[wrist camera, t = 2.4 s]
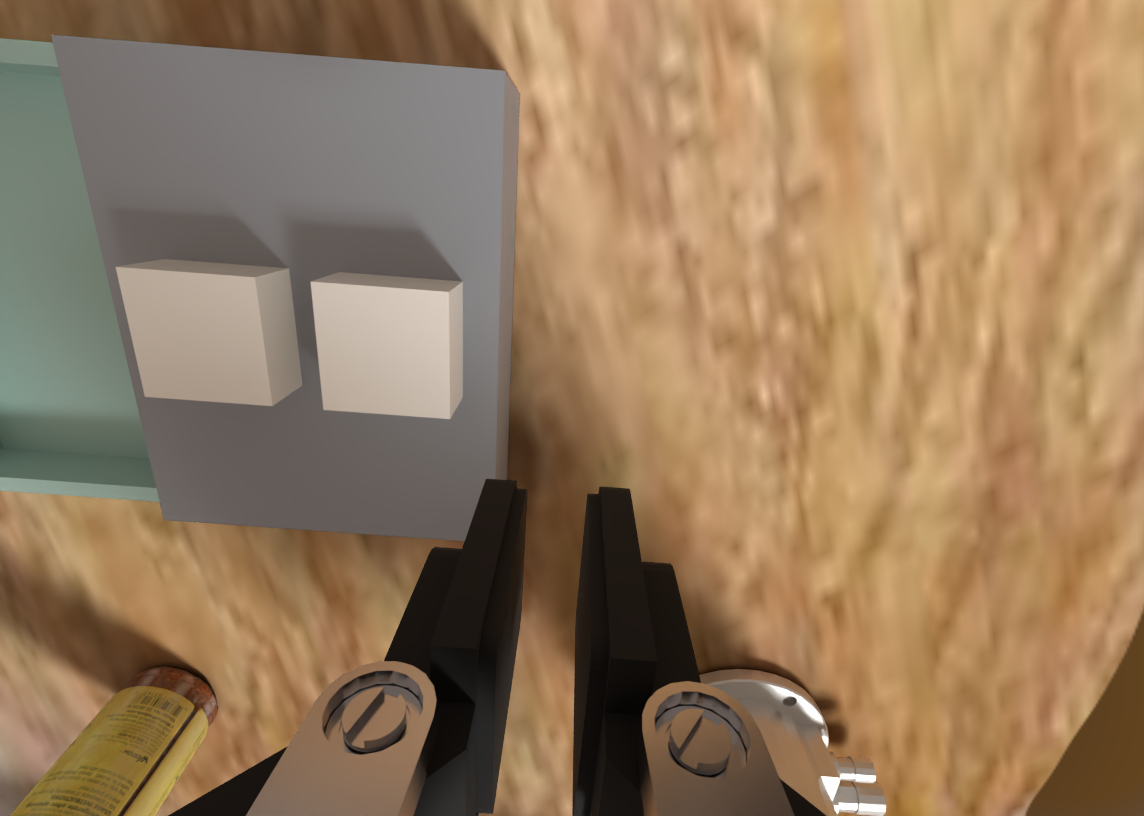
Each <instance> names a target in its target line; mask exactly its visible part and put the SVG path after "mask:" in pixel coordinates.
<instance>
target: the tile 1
mask: <svg viewBox="0 0 1144 816" xmlns="http://www.w3.org/2000/svg"><path fill="white" fill-rule="evenodd" d="M116 271H117V276H118V280H119V284H120V289H121V293H122V298H123V302H124V307H125V311H126V315H127V320H128V324H129V329H130V333H131V338H132V342H133V346H134V351H135V355H136V360H137V364H138V368H139V373H140V377H141V382H142V386H143V391H144V395H145V397H154V398H167V399H181V400H195V401H209V402H222V403H236V404H250V405H263V406H273V405H275V404H276V403H278V402H279V401H281V400H282V399H284V398H285V397H286V396H288V395H289V394H291V393H292V392H294V391H295V390H297V389H298V388H299V387H301V386H302V377H301V368H300V359H299V350H298V342H297V333H296V324H295V315H294V306H293V298H292V289H291V280H290V271H289V268H278V267H265V266H252V265H238V264H225V263H212V262H199V261H185V260H172V259H161V260H155V261H149V262H142V263H136V264H130V265H124V266H118V267H116Z"/></svg>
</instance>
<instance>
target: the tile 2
mask: <svg viewBox="0 0 1144 816" xmlns="http://www.w3.org/2000/svg"><path fill="white" fill-rule="evenodd" d="M311 292H312V301H313V311H314V321H315V331H316V341H317V351H318V361H319V371H320V381H321V391H322V401H323V410H332V411H346V412H359V413H373V414H387V415H400V416H414V417H428V418H441V419H451V417H452V415H453V413H454V412H455V410H456V408H457V407H458V405H459V403H460V401H461V400H462V398H463V281H450V280H437V279H424V278H411V277H397V276H384V275H371V274H358V273H344V272H338V273H335V274H332V275H329V276H326V277H323V278H320V279H317V280H314V281H311Z"/></svg>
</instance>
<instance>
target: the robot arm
mask: <svg viewBox="0 0 1144 816" xmlns="http://www.w3.org/2000/svg"><path fill="white" fill-rule="evenodd" d="M526 508H527V489H517V484H516V481H514V480H500V479H486V480H485V483H484V486H483V489H482V492H481V495H480V497H479V500H478V503H477V506H476V509H475V512H474V515H473V518H472V521H471V524H470V527H469V530H468V533H467V536H466V539H465V542H464V545H463V548H462V549H455V548H441V547H434V548H433V549H432V550H431V552H430V553H429V555H428V558H427V560H426V563H425V565H424V567H423V570H422V572H421V574H420V577H419V579H418V582H417V584H416V586H415V589H414V591H413V593H412V596H411V598H410V600H409V603H408V605H407V608H406V610H405V612H404V615H403V617H402V619H401V622H400V624H399V627H398V629H397V631H396V634H395V636H394V638H393V641H392V643H391V645H390V648H389V650H388V653H387V655H386V657H385V660H384V661H379V662H374V663H370V664H366V665H362V666H359V667H357V668H355V669H353V670H351V671H349V672H347V673H344V674H343V675H341V676H340V677H339V678H337V679H336V680H335V681H334V682H332V683H331V684H330V685H328V686H327V687H326V689H325V690H324V691H323V692H322V693H321V695H320V696H319V697H318V698H317V700H316V701H315V702H314V704H313V706H312V707H311V709H310V711H309V712H308V714H307V716H306V717H305V719H304V721H303V722H302V724H301V726H300V727H299V729H298V730H297V732H296V734H295V735H294V737H293V739H292V740H291V742H290V744H289V745H288V747H286V748H284V749H282V750H281V751H279V752H277V753H275V754H274V755H272V756H270V757H269V758H267V759H265V760H263V761H262V762H260V763H258V764H257V765H255V766H253V767H251V768H250V769H248V770H246V771H244V772H243V773H241V774H239V775H238V776H236V777H234V778H232V779H231V780H229V781H227V782H225V783H224V784H222V785H220V786H219V787H217V788H215V789H213V790H212V791H210V792H208V793H206V794H205V795H203V796H201V797H200V798H198V799H196V800H194V801H193V802H191V803H189V804H188V805H186V806H184V807H182V808H181V809H179V810H177V811H175V812H174V813H172V814H170V815H169V816H478V815H479V813H491V814H492V813H493V809H494V803H495V797H496V790H497V783H498V776H499V769H500V762H501V755H502V748H503V741H504V734H505V727H506V720H507V713H508V706H509V699H510V692H511V685H512V678H513V671H514V664H515V657H516V650H517V643H518V636H519V629H520V621H521V610H522V591H523V571H524V550H525V529H526ZM828 744H829V735H828V728H827V725H826V723H825V720H824V718H823V716H822V713H821V711H820V709H819V707H818V706H817V704H816V703H815V701H814V699H813V698H812V697H811V696H810V695H809V694H808V693H807V692H806V691H805V690H804V689H803V688H801V687H800V686H798V685H796V684H795V683H793V682H792V681H790V680H788V679H785V678H783V677H780V676H778V675H776V674H772V673H767V672H763V671H758V670H747V669H730V670H719V671H714V672H710V673H705V674H701V675H699V672H698V668H697V664H696V659H695V655H694V651H693V647H692V643H691V639H690V635H689V630H688V626H687V622H686V618H685V614H684V610H683V606H682V601H681V597H680V593H679V589H678V585H677V581H676V577H675V572H674V569H673V566H672V565H671V564H667V563H653V562H641V555H640V549H639V543H638V537H637V530H636V524H635V518H634V511H633V505H632V499H631V493H630V489H625V488H611V487H600V488H599V494H588V496H587V504H586V515H585V526H584V536H583V547H582V558H581V568H580V579H579V589H578V600H577V611H576V628H575V687H574V749H573V816H838V815H837V814H838V812H851V813H853V814H862V815H877V816H883V815H884V814H885V812H886V801H885V796H884V793H883V790H882V788H881V786H880V785H879V783H878V782H876V781H875V779H876V773H875V768H874V765H873V763H872V761H871V760H870V759H869V758H862V757H847V758H845V757H836V756H835V754H834V753H833V752H828Z"/></svg>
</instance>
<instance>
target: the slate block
mask: <svg viewBox="0 0 1144 816" xmlns="http://www.w3.org/2000/svg"><path fill="white" fill-rule="evenodd" d="M51 38H52V42H53V47H54V51H55V55H56V59H57V64H58V68H59V72H60V77H61V81H62V85H63V89H64V94H65V98H66V102H67V107H68V111H69V115H70V119H71V124H72V128H73V132H74V137H75V141H76V145H77V149H78V154H79V158H80V162H81V167H82V171H83V175H84V180H85V184H86V188H87V192H88V197H89V201H90V205H91V210H92V214H93V218H94V222H95V227H96V231H97V235H98V240H99V244H100V248H101V252H102V257H103V261H104V265H105V270H106V274H107V278H108V282H109V287H110V291H111V295H112V300H113V304H114V308H115V313H116V317H117V321H118V325H119V330H120V334H121V338H122V343H123V347H124V351H125V355H126V360H127V364H128V368H129V373H130V377H131V381H132V385H133V390H134V394H135V398H136V403H137V407H138V411H139V415H140V420H141V424H142V428H143V433H144V437H145V441H146V446H147V450H148V454H149V458H150V463H151V467H152V471H153V476H154V480H155V484H156V488H157V493H158V497H159V501H160V506H161V510H162V514H163V518H164V520H171V521H185V522H199V523H214V524H228V525H242V526H256V527H270V528H284V529H298V530H312V531H327V532H341V533H355V534H369V535H383V536H397V537H411V538H425V539H440V540H454V541H465V539H466V536H467V533H468V530H469V527H470V524H471V521H472V518H473V515H474V512H475V509H476V506H477V503H478V500H479V497H480V495H481V492H482V489H483V486H484V483H485V480H486V479H500V480H507V472H508V441H509V410H510V380H511V349H512V319H513V288H514V257H515V227H516V196H517V166H518V135H519V104H520V93H519V92H518V90H517V89H516V87H515V85H514V84H513V82H512V81H511V79H510V78H509V76H508V75H507V73H506V71H503V70H491V69H478V68H466V67H453V66H440V65H428V64H415V63H403V62H390V61H377V60H365V59H352V58H340V57H327V56H314V55H302V54H289V53H277V52H264V51H251V50H239V49H226V48H214V47H201V46H188V45H176V44H163V43H151V42H138V41H125V40H113V39H100V38H88V37H75V36H62V35H51ZM161 259H172V260H185V261H199V262H212V263H225V264H238V265H252V266H265V267H278V268H289V271H290V280H291V289H292V298H293V306H294V315H295V324H296V333H297V342H298V350H299V359H300V368H301V377H302V386H301V387H299V388H298V389H297V390H295V391H294V392H292V393H291V394H289V395H288V396H286V397H285V398H284V399H282V400H281V401H279V402H278V403H276V404H275V405H273V406H263V405H250V404H236V403H222V402H209V401H195V400H181V399H167V398H154V397H145V395H144V391H143V386H142V382H141V377H140V373H139V368H138V364H137V360H136V355H135V351H134V346H133V342H132V338H131V333H130V329H129V324H128V320H127V315H126V311H125V307H124V302H123V298H122V293H121V289H120V284H119V280H118V276H117V271H116V267H118V266H124V265H130V264H136V263H142V262H149V261H155V260H161ZM338 272H344V273H358V274H371V275H384V276H397V277H411V278H424V279H437V280H450V281H463V398H462V400H461V401H460V403H459V405H458V407H457V408H456V410H455V412H454V413H453V415H452V417H451V419H441V418H428V417H414V416H400V415H387V414H373V413H359V412H346V411H332V410H323V401H322V391H321V381H320V371H319V361H318V351H317V341H316V331H315V321H314V311H313V301H312V292H311V281H314V280H317V279H320V278H323V277H326V276H329V275H332V274H335V273H338Z"/></svg>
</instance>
